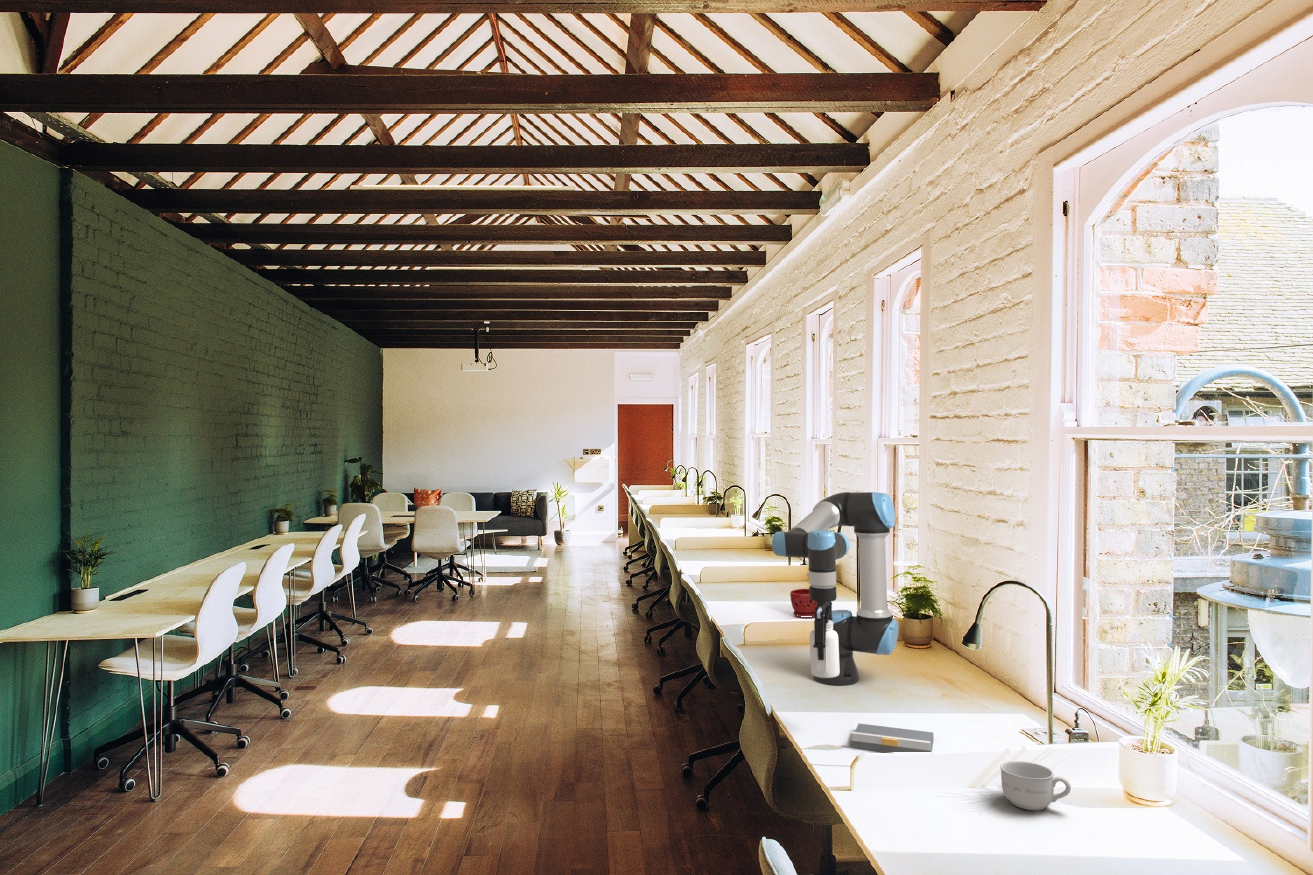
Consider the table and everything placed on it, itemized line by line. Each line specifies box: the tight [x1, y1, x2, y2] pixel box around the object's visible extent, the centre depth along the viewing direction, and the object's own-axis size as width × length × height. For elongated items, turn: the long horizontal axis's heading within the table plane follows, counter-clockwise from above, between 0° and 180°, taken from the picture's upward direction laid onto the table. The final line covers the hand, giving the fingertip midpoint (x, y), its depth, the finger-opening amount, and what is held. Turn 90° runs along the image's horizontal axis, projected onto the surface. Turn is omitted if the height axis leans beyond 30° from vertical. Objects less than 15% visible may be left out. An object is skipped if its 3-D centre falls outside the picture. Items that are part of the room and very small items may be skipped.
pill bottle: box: [809, 620, 840, 678], centre depth 211 cm, size 8×8×15 cm
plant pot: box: [789, 588, 817, 619], centre depth 353 cm, size 13×13×12 cm
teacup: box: [999, 760, 1072, 811], centre depth 167 cm, size 14×11×8 cm
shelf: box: [850, 722, 934, 753], centre depth 203 cm, size 14×20×4 cm
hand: (824, 666), depth 211 cm, fingers closed on pill bottle, 8 cm apart
